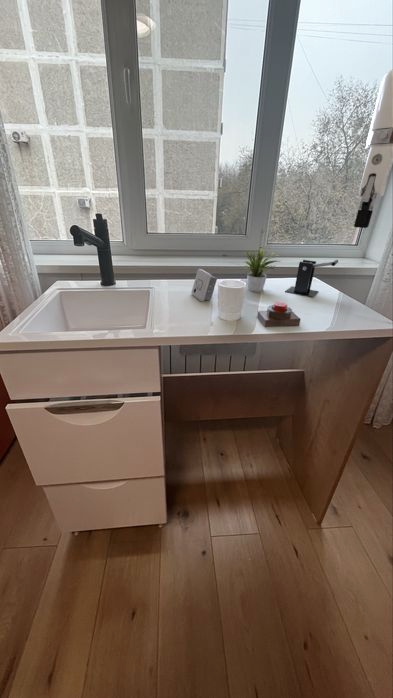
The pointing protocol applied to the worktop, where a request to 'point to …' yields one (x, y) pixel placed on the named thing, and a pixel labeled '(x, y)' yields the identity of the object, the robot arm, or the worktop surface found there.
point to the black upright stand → (304, 280)
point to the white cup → (230, 299)
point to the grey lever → (325, 264)
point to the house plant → (258, 270)
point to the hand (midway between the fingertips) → (360, 227)
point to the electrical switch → (203, 285)
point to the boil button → (280, 306)
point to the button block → (278, 318)
